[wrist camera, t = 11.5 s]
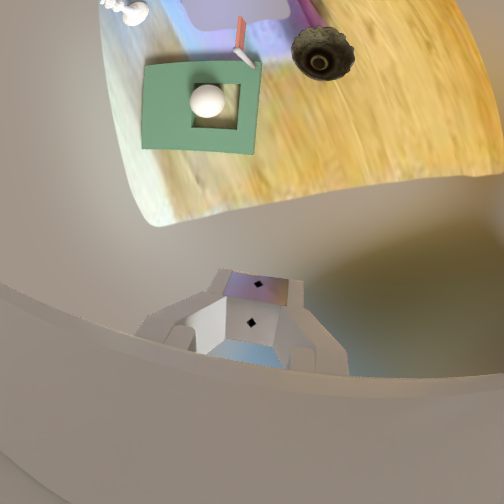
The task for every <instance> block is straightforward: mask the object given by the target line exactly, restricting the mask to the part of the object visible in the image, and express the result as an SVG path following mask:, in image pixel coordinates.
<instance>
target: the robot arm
mask: <svg viewBox="0 0 504 504" xmlns="http://www.w3.org/2000/svg"><path fill="white" fill-rule="evenodd" d="M303 293H304V282H303V281H298V280H288V279H282V278H274V277H267V276H261V275H256V274H251V273H246V272H240V271H235V270H234V271H233V270H230V269H224V268H219V269H218V270H217V272H216V274H215V276H214V278H213V280H212V282H211V284H210V286H209V287H208V289H207V291H206V292H200V293H198V294H195V295H193V296H191V297H189V298H186V299H184V300H182V301H180V302H177V303H175V304H173V305H171V306H168V307H166V308H164V309H162V310H159V311H157V312H155V313H152V314H150V315H148V316H147V317H146V319H145V320H144V322H143V323H142V325H141V326H140V328H139V329H138V331H137V332H136V333H135V335H134V336H133V335H130V334H126V333H124V332H120V331H117V330H114V329H111V328H108V327H106V326H103V325H100V324H97V323H94V322H91V321H88V320H86V319H83V318H80V317H78V316H75V315H72V314H70V313H67V312H64V311H62V310H60V309H57V308H55V307H53V306H50V305H48V304H45V303H43V302H41V301H38V300H36V299H34V298H32V297H29V296H27V295H25V294H23V293H21V292H19V291H17V290H15V289H12V288H10V287H8V286H6V285H4V284H2V283H0V504H504V373H502V374H493V375H483V376H472V377H457V378H434V379H433V378H430V379H395V378H368V377H353V376H349V369H348V360H347V352H346V351H345V350H344V348H342V346H341V345H340V344H339V343H338V342H337V341H336V340H335V339H334V338H333V336H331V334H330V333H329V332H328V331H327V330H326V329H325V328H324V327H323V326H322V325H321V324H320V323H319V321H318V320H317V319H316V318H315V317H314V316H313V315H312V314H311V313H310V312H309V310H307V309H303V298H304V294H303ZM225 338H226V339H232V340H237V341H244V342H250V343H255V344H260V345H265V346H270V347H273V349H274V351H275V353H276V355H277V356H278V358H279V360H280V362H281V364H282V366H283V368H284V369H279V368H273V367H266V366H261V365H255V364H249V363H244V362H238V361H233V360H228V359H223V358H219V357H214V356H209V355H205V354H206V353H208V352H209V351H210V350H212V349H213V348H214V347H216V346H217V345H218V344H219V343H221V342H222V341H223V340H224V339H225Z"/></svg>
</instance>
